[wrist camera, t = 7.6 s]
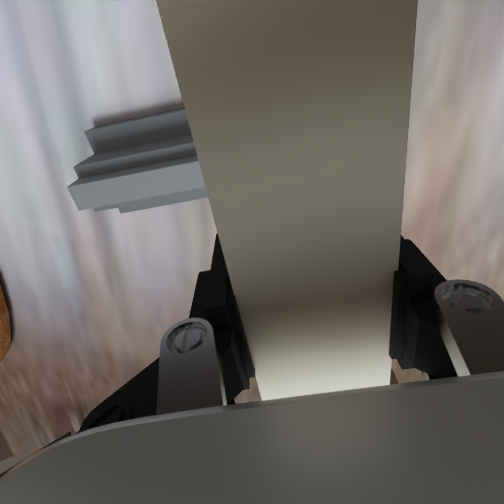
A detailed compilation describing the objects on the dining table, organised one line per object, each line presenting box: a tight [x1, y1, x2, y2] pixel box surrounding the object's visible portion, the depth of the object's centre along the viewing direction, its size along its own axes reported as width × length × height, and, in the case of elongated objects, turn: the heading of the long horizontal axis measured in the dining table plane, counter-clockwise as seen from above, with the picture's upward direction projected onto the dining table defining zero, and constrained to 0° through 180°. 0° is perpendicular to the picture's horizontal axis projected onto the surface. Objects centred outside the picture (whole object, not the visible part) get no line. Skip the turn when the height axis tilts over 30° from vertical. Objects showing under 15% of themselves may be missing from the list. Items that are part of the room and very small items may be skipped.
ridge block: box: [67, 108, 208, 213], centre depth 28 cm, size 20×8×8 cm, turn 101°
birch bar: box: [156, 0, 418, 401], centre depth 10 cm, size 24×4×4 cm, turn 10°
